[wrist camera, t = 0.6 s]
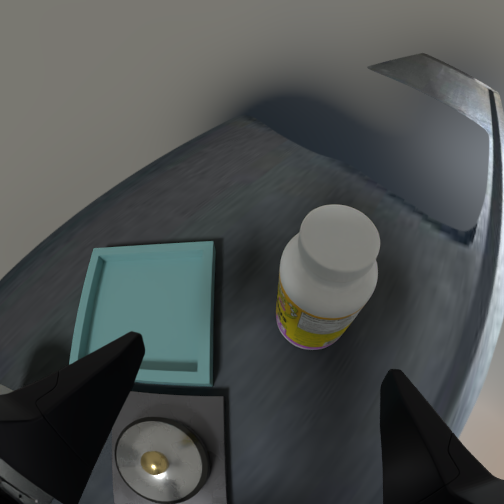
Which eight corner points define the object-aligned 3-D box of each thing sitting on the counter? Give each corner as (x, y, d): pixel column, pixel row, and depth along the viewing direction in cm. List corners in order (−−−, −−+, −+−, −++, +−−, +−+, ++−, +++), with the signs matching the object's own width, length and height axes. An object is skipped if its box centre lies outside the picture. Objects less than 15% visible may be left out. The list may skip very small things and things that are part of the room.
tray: (213, 386, 23) (209, 383, 22) (78, 374, 23) (68, 370, 22) (215, 251, 31) (213, 241, 29) (100, 257, 31) (93, 248, 30)
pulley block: (229, 521, 16) (223, 536, 13) (119, 505, 16) (99, 513, 13) (224, 397, 22) (218, 392, 19) (118, 390, 23) (98, 383, 19)
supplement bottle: (282, 280, 29) (291, 183, 18) (348, 292, 28) (392, 201, 17) (268, 345, 25) (271, 275, 14) (341, 357, 24) (399, 296, 13)
